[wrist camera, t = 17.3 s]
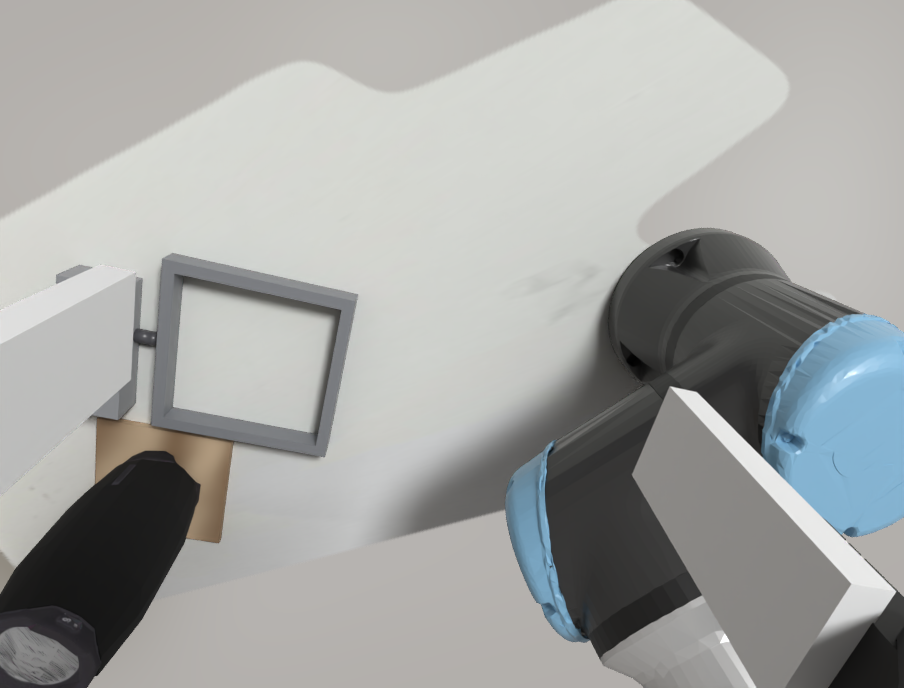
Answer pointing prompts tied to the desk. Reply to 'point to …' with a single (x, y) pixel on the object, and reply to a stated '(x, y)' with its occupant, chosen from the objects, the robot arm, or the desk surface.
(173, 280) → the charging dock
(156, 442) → the cork mat
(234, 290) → the desk surface
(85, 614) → the portable speaker
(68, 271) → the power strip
